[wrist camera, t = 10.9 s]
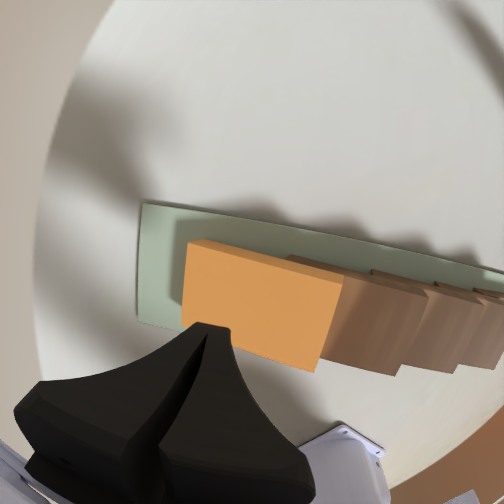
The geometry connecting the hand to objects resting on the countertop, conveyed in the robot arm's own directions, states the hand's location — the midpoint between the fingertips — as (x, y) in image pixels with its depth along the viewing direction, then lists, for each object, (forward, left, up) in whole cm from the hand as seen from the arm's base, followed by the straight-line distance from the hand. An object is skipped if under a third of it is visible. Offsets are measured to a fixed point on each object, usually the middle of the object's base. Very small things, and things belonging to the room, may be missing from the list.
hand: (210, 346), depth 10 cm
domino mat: (-9, -6, -7) cm, 13 cm away
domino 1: (-2, -2, -6) cm, 6 cm away
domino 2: (-6, -5, -6) cm, 10 cm away
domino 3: (-11, -8, -6) cm, 14 cm away
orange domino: (+2, +1, -6) cm, 6 cm away
